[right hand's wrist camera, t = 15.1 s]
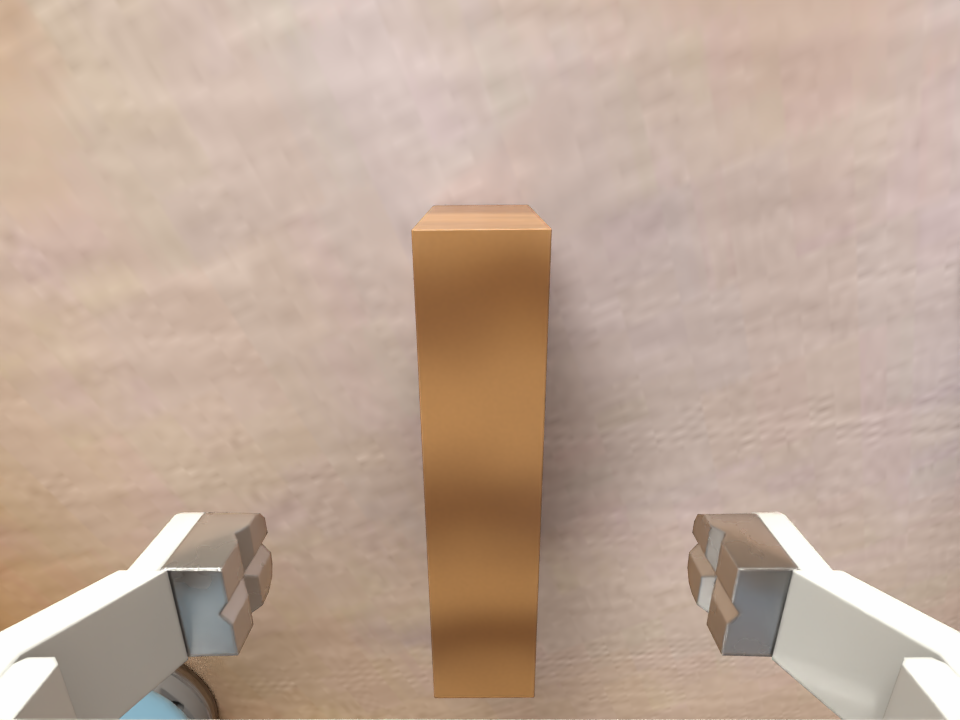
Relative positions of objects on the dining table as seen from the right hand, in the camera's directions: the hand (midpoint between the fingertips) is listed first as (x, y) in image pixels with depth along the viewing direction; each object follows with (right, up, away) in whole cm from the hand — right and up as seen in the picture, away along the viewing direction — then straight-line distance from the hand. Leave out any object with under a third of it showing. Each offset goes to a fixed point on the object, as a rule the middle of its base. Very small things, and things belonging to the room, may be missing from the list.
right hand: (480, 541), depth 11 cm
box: (0, 0, +30) cm, 30 cm away
